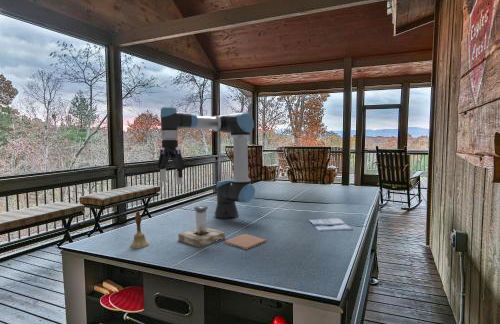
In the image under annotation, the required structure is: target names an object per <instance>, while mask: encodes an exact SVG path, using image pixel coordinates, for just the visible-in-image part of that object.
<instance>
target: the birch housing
mask: <svg viewBox="0 0 500 324" xmlns="http://www.w3.org/2000/svg"><path fill="white" fill-rule="evenodd" d="M225 234H226V233H225V231H221V230H218V229H214V228H210V227H207V234H206V235H202V236H199V235H196V228H194V229H191V230H187V231H185V232H180V233H178V234H177V236H178V237H177V238H178V241H180V242H183V243H186V244H189V245H192V246H194V247H197V246H198V248H201V247H204V246H207V245H209V244H208V243H210V244H212V243H211V242H213V243H215V242H214V241H216V240H219V239H221V240H223V239H222V238H224V239H225V238H226V235H225ZM219 241H220V240H219ZM216 242H217V241H216ZM206 244H207V245H206ZM203 245H204V246H203ZM200 246H201V247H200Z"/></svg>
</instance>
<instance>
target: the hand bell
mask: <svg viewBox="0 0 500 324" xmlns="http://www.w3.org/2000/svg"><path fill="white" fill-rule="evenodd" d="M134 220H135V224H136V233H135V234H134V235H133V240H132V243H131V244H130V246H129V247H130V248H131V249H143V248H145V247H148V246H149V245H150V243H149V241H147V239H146V237H145V233H144V232H142V231H141V230H142V228H141V223H142V216H141V213H140V211H136V212H135V217H134Z"/></svg>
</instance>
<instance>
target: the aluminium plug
mask: <svg viewBox="0 0 500 324" xmlns="http://www.w3.org/2000/svg"><path fill="white" fill-rule="evenodd" d="M193 210H194V211H195V224H196V225H195V229H196V235H199V236H202V235H206V234H207V228H208V227H207V210H208V206H207V205H197V206H194V207H193Z"/></svg>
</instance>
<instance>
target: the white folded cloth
mask: <svg viewBox="0 0 500 324" xmlns="http://www.w3.org/2000/svg"><path fill="white" fill-rule="evenodd" d="M308 221H309V222H310V223H311V224H312V225H313V227H315V228H316V230H318V231H319V232H325V231H326V232H327V231H329V232H330V231H334V232H335V231H353V228H352V227H351V226H349V225H348V224H346V222H345V221H343V220H342V219H340V218H338V217H335V218H322V219H321V218H318V219H308Z"/></svg>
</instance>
